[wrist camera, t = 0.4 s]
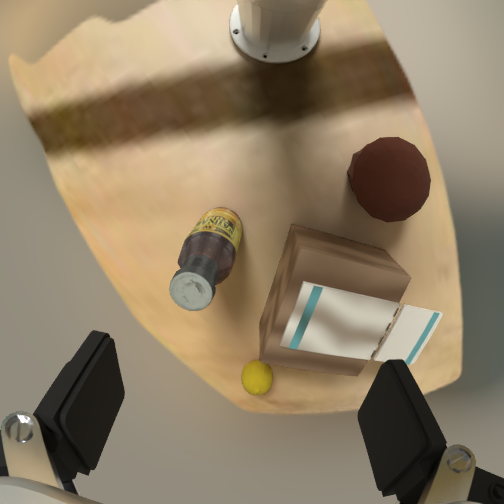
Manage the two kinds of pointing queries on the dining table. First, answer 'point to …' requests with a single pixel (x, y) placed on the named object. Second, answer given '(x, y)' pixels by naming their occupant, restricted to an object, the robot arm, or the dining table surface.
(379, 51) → the dining table surface
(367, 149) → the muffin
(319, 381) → the dining table surface
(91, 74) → the dining table surface
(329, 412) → the dining table surface
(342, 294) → the brown box with strip
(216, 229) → the sauce bottle
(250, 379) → the lemon
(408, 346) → the stub
